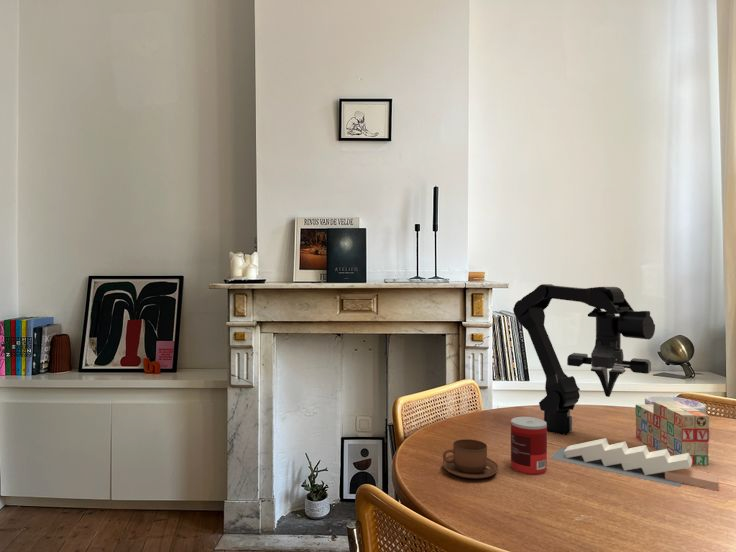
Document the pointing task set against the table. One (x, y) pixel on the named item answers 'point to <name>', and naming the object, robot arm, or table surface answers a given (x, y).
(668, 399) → the paper bowls
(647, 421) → the stack of blocks
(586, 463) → the mat
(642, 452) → the domino
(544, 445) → the canned food
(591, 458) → the domino
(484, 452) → the cup and saucer
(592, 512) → the table surface
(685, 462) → the domino
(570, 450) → the domino
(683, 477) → the domino
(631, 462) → the domino
